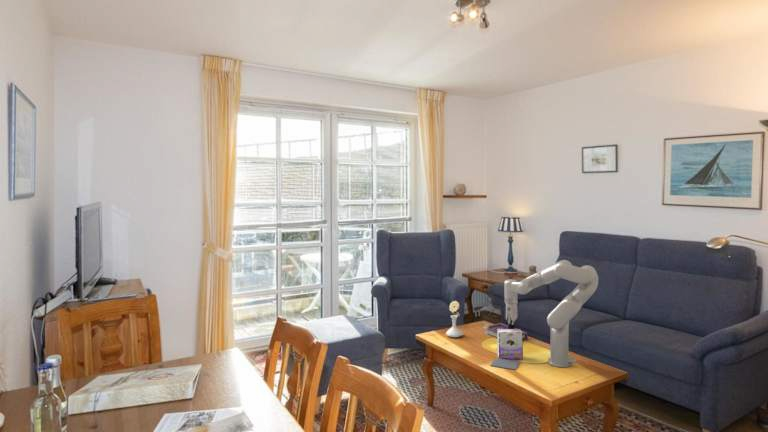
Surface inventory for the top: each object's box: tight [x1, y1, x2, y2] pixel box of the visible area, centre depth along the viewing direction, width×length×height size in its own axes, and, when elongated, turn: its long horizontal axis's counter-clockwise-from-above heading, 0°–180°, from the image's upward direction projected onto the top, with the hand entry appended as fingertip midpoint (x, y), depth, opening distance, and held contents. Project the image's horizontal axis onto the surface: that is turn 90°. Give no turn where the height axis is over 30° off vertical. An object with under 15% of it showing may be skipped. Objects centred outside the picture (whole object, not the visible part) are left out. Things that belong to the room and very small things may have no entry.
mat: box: [489, 357, 521, 371], centre depth 251 cm, size 14×12×1 cm
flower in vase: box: [445, 300, 464, 338], centre depth 301 cm, size 13×11×25 cm
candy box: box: [496, 328, 524, 360], centre depth 260 cm, size 14×6×16 cm, turn 84°
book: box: [482, 322, 529, 341], centre depth 299 cm, size 25×16×5 cm, turn 27°
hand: (511, 330), depth 264 cm, fingers closed
